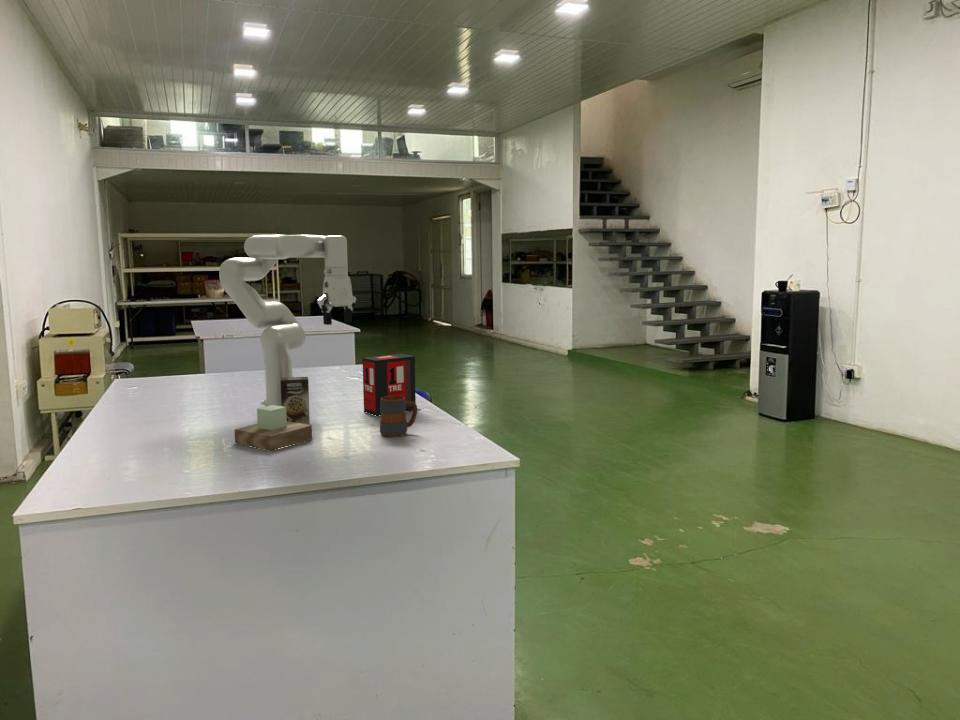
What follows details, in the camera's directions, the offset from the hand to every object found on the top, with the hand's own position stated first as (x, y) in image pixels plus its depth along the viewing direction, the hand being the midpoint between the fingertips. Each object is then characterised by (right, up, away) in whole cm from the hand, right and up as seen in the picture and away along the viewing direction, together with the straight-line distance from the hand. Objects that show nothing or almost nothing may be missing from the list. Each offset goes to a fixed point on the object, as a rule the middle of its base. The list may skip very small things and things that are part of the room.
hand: (338, 323), depth 239 cm
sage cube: (-15, -33, -25) cm, 44 cm away
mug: (+22, -36, -16) cm, 45 cm away
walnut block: (-14, -38, -25) cm, 47 cm away
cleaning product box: (+15, -31, +17) cm, 39 cm away
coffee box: (-13, -35, -4) cm, 37 cm away
